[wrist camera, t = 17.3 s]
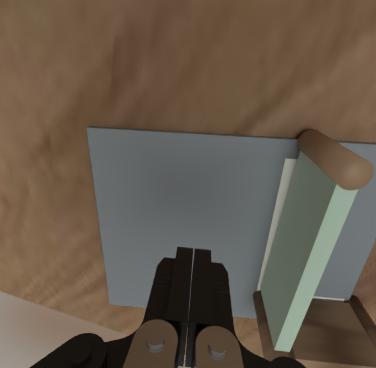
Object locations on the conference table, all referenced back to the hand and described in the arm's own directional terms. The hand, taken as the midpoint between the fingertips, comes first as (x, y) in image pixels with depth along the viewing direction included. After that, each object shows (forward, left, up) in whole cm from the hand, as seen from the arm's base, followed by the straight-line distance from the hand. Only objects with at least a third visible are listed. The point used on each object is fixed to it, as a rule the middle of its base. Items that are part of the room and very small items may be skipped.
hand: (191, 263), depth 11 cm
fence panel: (+8, -4, -10) cm, 13 cm away
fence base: (+12, -13, -11) cm, 21 cm away
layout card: (+3, -7, -11) cm, 13 cm away
